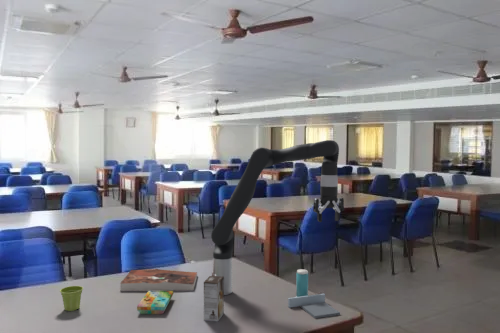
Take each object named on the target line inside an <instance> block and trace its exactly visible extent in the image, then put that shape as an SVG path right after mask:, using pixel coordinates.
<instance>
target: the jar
mask: <svg viewBox="0 0 500 333" xmlns="http://www.w3.org/2000/svg"><path fill="white" fill-rule="evenodd" d="M295 274H296V276H295V277H296V279H295V280H296V283H295V285H296V286H295V288H296V289H295V290H296V291H295V293H296V294H295V297H300V296H308V295H309V271H308V270H307V269H301V268H300V269H297V270H296V273H295Z"/></svg>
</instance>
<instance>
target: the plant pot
mask: <svg viewBox="0 0 500 333" xmlns="http://www.w3.org/2000/svg"><path fill="white" fill-rule="evenodd" d="M83 290H84V286H81V285H69V286H66V287H63V288H61V289H59V292H60V294H61V297H62V302H63V309H64V310H65V311H68V312H73V311H74V312H75V311H77V309H80V307H81V299H82V294H83Z"/></svg>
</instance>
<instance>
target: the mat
mask: <svg viewBox="0 0 500 333" xmlns="http://www.w3.org/2000/svg"><path fill="white" fill-rule="evenodd" d="M300 308H301V309H302V310H304V311H305V312H306V313H307V314H308V315H309V316H311V317H312V318H313V319H320V318H327V317H333V316H340V315H341V312H340V311H339V310H337V309H336V308H334V307H332V306H331V305H329V304H328V303H327V302H326V301H325V302H322V303H314V304H307V305H301V306H300Z"/></svg>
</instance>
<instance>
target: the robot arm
mask: <svg viewBox="0 0 500 333" xmlns="http://www.w3.org/2000/svg"><path fill="white" fill-rule="evenodd" d="M339 152H340V146H339V144H338V142H336V140H332V139H331V140H330V139H328V140H327V139H326V140H321V141H318V142H310V143H309V142H308V143H302V144H298V145H294V146H290V147H287V148H278V149H274V148H273V149H271V148H267V147H257V148H256V149H254V151H252V153H251V155H250V157H249V160H248V163H247V166H246V167H245V170H244V172H243V174H242V175H241V177H240V180H239V181H238V182H237V185H236V186H235V188H234V190H233V192H232V193H231V196H230V199H229V200H228V202H227V205H226V206H225V208H224V211H223V213H222V215H221V217H220V219H219V220H218V221H217V223H216V225H215V226H214V228H213V229H212V231H211V233H210V234H211V236H210V237H211V240H212V242H213V243H214V249H213V251H212V271H211V276H223V277H224V296H228V295H230V294H232V293H233V253H234V252H233V251H234V241H235V240H234V237H235V236H234V230H233V229H234V227H235V224H237V221H238V220H240V219H239V218H240V217H241V216H242V215H243V214H244V213H245V211H246V209H247V208H248V207H249V205H250V203H251V201H252V199H253V198H254V195H255V192H256V188H257V182H258V180H259V177H260V175H261V174H262V172H263V170H265V168H270V167H271V166H274V165H278V164H281V163H286V162H287V163H288V162H296V161H304V160H312V159H315V158H323V161H322V163H321V171H320V172H321V174H320V188H319V189H320V197H319V198H315V197H314V198H313V204H312V206H313V207H312V208H313V209H312V211H313V212H314V213H316V217H317V218H316V219H317V222H319V223H322V222H323V214H322V213H323V212H324V211H325V209H333V210H334V211H335V212H334V221H336V222H339V221H340V219H341V218H340V217H341V212H344V211H345V203H344V197H338V195H339V194H338V187H339V186H338V185H339V180H338V160H339V154H340V153H339ZM337 203H338V205H337ZM319 204H320V205H319Z"/></svg>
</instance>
